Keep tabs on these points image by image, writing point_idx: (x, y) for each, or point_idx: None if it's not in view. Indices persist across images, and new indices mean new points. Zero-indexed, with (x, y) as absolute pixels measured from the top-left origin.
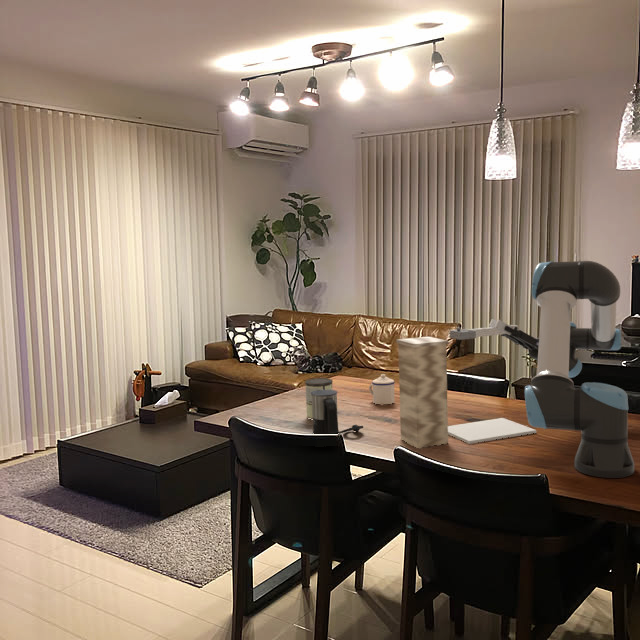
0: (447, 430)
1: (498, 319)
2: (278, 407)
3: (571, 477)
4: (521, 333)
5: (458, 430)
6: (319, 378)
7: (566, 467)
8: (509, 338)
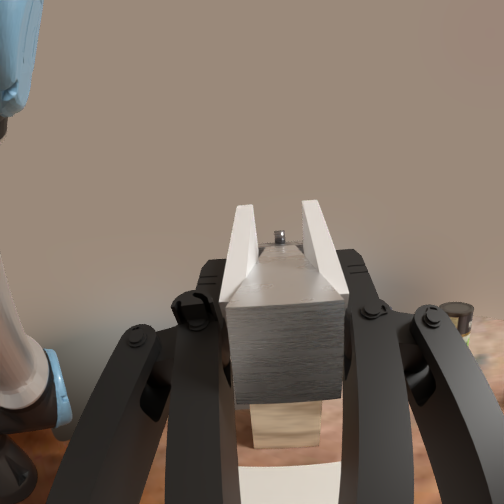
0: (252, 431)
1: (244, 205)
2: (488, 330)
3: (35, 444)
4: (173, 405)
5: (306, 482)
6: (471, 306)
7: (46, 468)
8: (428, 455)
